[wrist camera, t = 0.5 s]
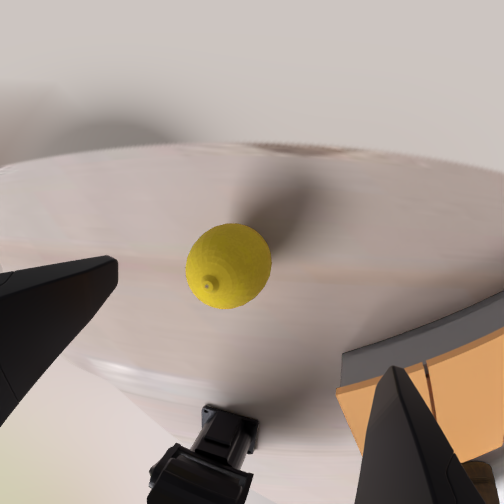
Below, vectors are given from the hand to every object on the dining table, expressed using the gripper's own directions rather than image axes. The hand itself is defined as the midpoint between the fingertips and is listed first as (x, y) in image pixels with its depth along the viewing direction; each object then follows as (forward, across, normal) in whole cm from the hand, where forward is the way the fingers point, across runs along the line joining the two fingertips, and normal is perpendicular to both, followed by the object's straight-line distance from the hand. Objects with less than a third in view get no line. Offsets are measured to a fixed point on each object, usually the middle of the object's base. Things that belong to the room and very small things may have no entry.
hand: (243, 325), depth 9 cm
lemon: (+15, +4, +6) cm, 17 cm away
